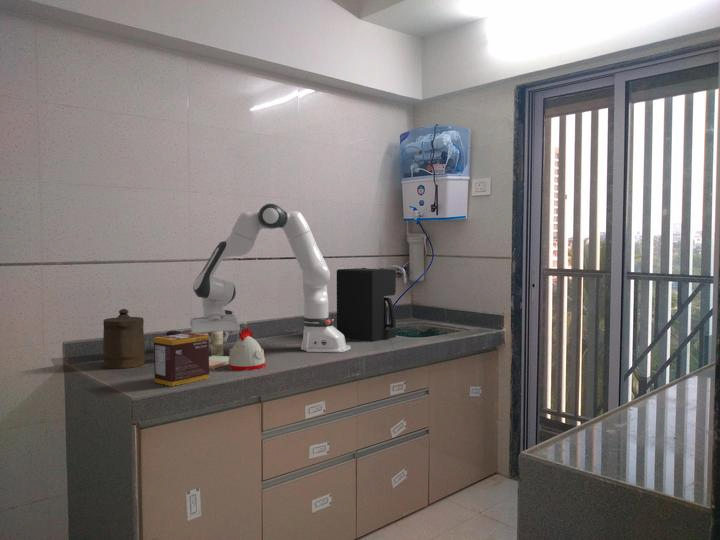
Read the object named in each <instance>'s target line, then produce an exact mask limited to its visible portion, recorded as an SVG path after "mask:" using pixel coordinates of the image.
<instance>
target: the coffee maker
mask: <svg viewBox="0 0 720 540" xmlns="http://www.w3.org/2000/svg"><path fill="white" fill-rule="evenodd" d="M396 274H397V272H396V270H395V269H393V268H391V269H390V268H384V267H383V268H382V267H379V268H367V267H361V268H360V267H359V268H357V267H356V268H338V269H336V329H337V330H338V331H340V332H341V333H342V334H343V335H344V337H345V339H349V340H358V341H365V342H370V343H372V342H378V341H384V340H389V339H392V338H393V339H394V338H396V337H397V331H396V327H397V326H396V325H397V324H396V323H397V322H396V314H395V313H396V311H395V308H394V303H393V300H392V298H391V296H395V295H396V292H397V289H396V288H397V286H396V284H397V282H396V279H397V277H396ZM387 306H388V307H387ZM389 317H390V323H389Z"/></svg>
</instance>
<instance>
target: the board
mask: <svg viewBox="0 0 720 540" xmlns="http://www.w3.org/2000/svg"><path fill="white" fill-rule="evenodd" d="M229 357H230V356H226V355H225V356H224V355H222V356H214V355H213V356H212V355H209V370H215V369H217V368H221V367H223V366H226V365H228V362H229Z"/></svg>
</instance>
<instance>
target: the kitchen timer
mask: <svg viewBox="0 0 720 540" xmlns="http://www.w3.org/2000/svg"><path fill="white" fill-rule="evenodd" d="M240 332H241V333H240ZM240 332H239V333H238V335H239V339H238V340H236V342H235V344H234V345H233V347H232V348H230V349H229V351H228V355H229V362H228V364H227V365H228V369H229V370H232V371H238V370H239V371H241V372H243V371H242V370H248V371H255V370H254V369H257V370H261V369H264V368H265V367H266V359H265V353H264V349H263V348H262V347H261V345H260V344H259V343H258V341H257V340H256V339H255V338H253V334H254V332H252V331H251V329H249V327H246V328H244V329H241V331H240ZM263 367H264V368H263ZM260 368H261V369H260Z"/></svg>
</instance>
